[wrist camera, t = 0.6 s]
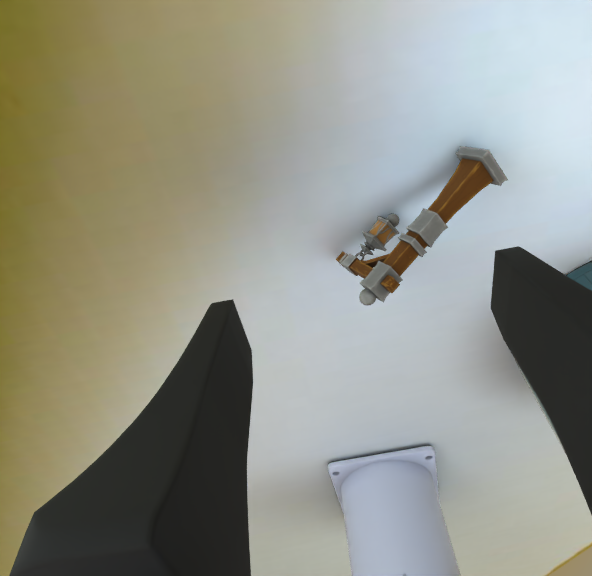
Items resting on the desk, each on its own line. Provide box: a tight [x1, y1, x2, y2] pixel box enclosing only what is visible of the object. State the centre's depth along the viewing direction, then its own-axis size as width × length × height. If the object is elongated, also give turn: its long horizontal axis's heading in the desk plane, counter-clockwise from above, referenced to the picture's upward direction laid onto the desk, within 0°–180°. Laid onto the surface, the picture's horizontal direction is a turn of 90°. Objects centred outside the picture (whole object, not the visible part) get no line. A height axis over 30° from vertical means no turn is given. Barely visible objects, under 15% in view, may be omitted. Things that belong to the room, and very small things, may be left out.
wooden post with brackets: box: [336, 146, 508, 305], centre depth 22 cm, size 2×8×4 cm, turn 131°
